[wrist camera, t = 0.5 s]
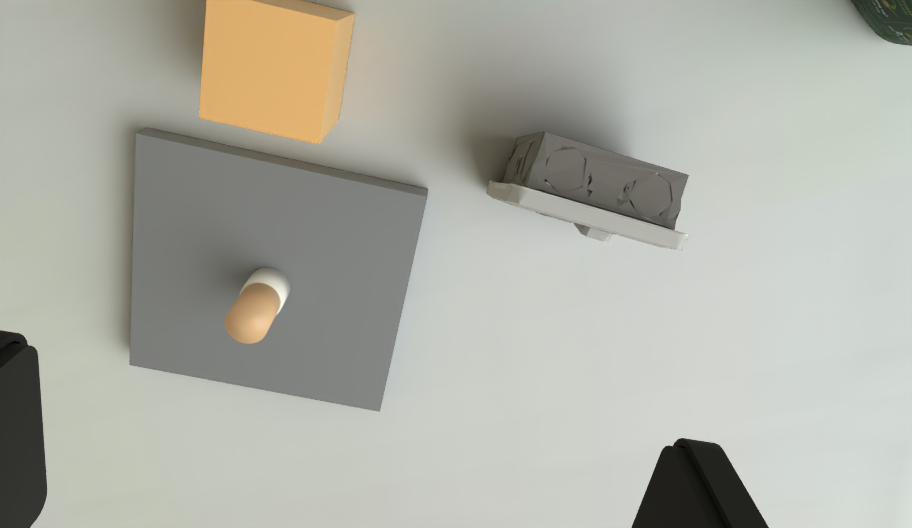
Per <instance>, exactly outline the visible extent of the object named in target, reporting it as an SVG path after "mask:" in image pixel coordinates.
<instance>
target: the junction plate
mask: <svg viewBox="0 0 912 528" xmlns="http://www.w3.org/2000/svg"><path fill="white" fill-rule="evenodd" d="M427 194H428V189H425V188H420V187H416V186H411V185H406V184H402V183H397V182H393V181H388V180H384V179H379V178H375V177H370V176H365V175H361V174H356V173H352V172H347V171H343V170H338V169H333V168H329V167H324V166H320V165H315V164H311V163H306V162H302V161H297V160H292V159H288V158H283V157H279V156H274V155H270V154H265V153H261V152H256V151H251V150H247V149H242V148H238V147H233V146H229V145H224V144H219V143H215V142H210V141H206V140H201V139H197V138H192V137H188V136H183V135H178V134H174V133H169V132H165V131H160V130H156V129H151V128H145V129H143V130H141V131H139V132H137V133H136V135H135V174H134V212H133V251H132V290H131V328H130V365H133V366H138V367H143V368H149V369H154V370H159V371H165V372H170V373H176V374H181V375H186V376H192V377H197V378H202V379H208V380H213V381H218V382H224V383H229V384H235V385H240V386H245V387H251V388H256V389H261V390H267V391H272V392H277V393H283V394H288V395H294V396H299V397H304V398H310V399H315V400H320V401H326V402H331V403H336V404H342V405H347V406H353V407H358V408H363V409H369V410H374V411H379V412H380V408H381V403H382V399H383V394H384V390H385V385H386V381H387V376H388V372H389V367H390V363H391V358H392V354H393V349H394V345H395V340H396V335H397V331H398V326H399V322H400V317H401V313H402V308H403V304H404V299H405V295H406V290H407V286H408V281H409V277H410V272H411V268H412V263H413V258H414V254H415V249H416V245H417V240H418V236H419V231H420V227H421V222H422V218H423V213H424V209H425V204H426V200H427Z"/></svg>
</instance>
